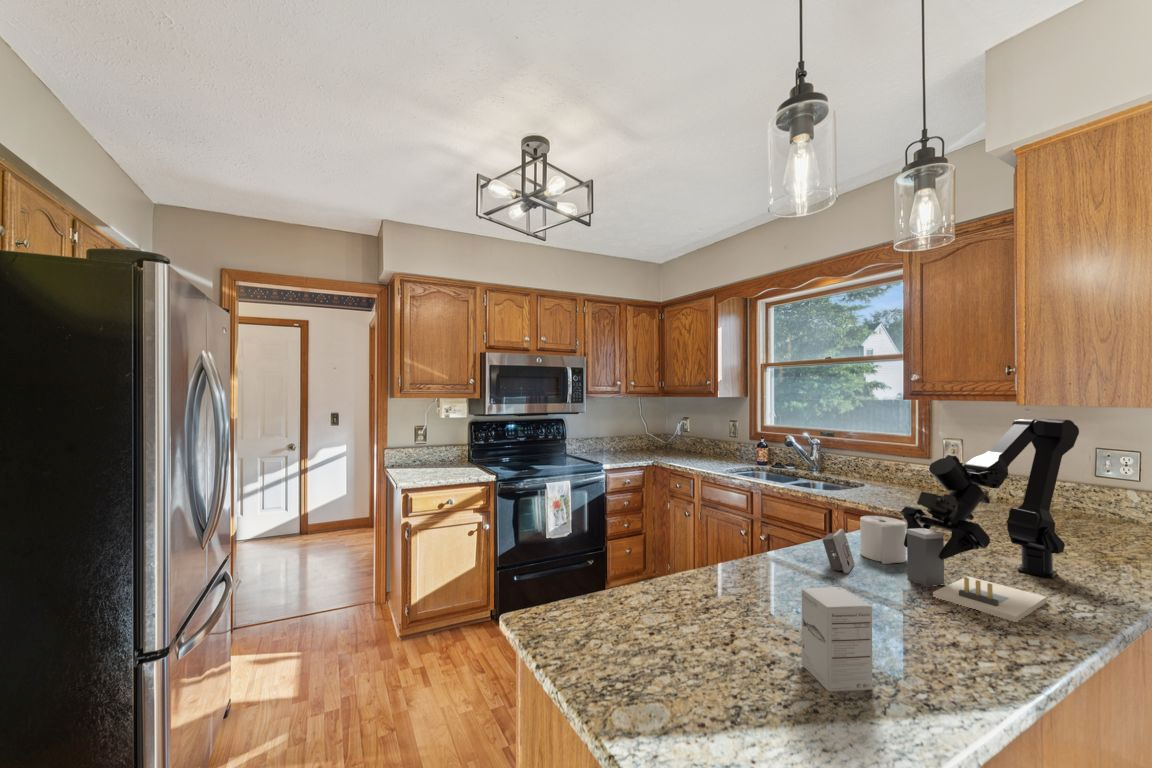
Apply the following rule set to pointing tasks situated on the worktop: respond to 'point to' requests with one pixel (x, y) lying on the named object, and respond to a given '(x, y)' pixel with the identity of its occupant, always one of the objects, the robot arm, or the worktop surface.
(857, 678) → the supplement box
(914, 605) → the worktop surface
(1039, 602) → the board
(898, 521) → the toilet tissue
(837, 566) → the electrical switch
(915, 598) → the worktop surface
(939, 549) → the plug block
